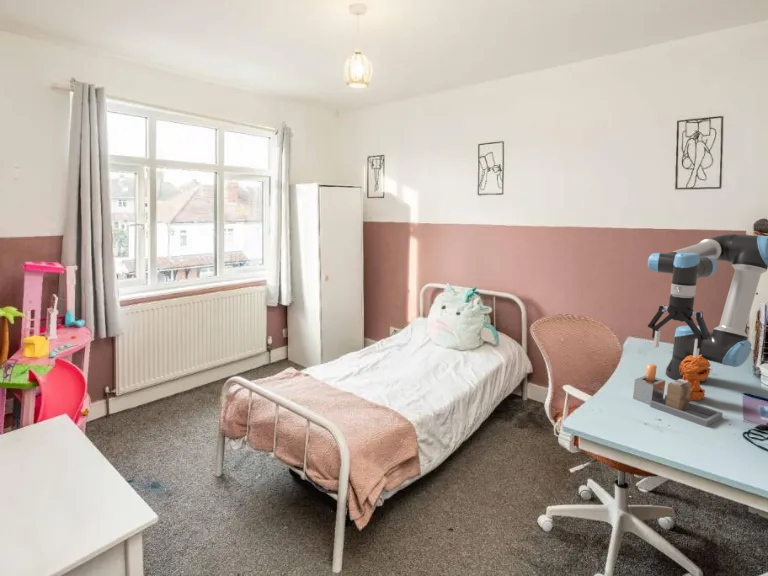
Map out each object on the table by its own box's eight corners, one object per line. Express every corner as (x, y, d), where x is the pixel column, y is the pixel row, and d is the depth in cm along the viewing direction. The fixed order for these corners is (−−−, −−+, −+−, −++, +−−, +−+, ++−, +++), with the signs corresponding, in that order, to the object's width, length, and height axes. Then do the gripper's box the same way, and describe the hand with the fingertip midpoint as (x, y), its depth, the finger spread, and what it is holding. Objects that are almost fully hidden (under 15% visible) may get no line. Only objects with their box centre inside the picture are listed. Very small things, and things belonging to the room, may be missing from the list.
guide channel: (666, 399, 182) (667, 394, 182) (721, 417, 167) (722, 412, 166) (650, 406, 176) (650, 401, 175) (706, 426, 160) (706, 421, 160)
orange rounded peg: (648, 378, 183) (649, 363, 182) (656, 380, 180) (658, 365, 179) (643, 379, 181) (645, 365, 180) (652, 382, 179) (654, 367, 178)
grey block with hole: (645, 393, 188) (647, 374, 186) (663, 399, 182) (665, 380, 180) (632, 398, 183) (635, 379, 181) (651, 405, 177) (653, 385, 176)
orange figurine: (713, 404, 178) (719, 360, 174) (681, 402, 180) (687, 357, 176) (699, 393, 188) (705, 350, 185) (670, 391, 190) (675, 348, 187)
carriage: (675, 403, 178) (678, 377, 176) (688, 408, 174) (691, 381, 172) (664, 408, 173) (668, 382, 171) (677, 413, 170) (681, 386, 168)
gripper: (641, 291, 176) (636, 344, 180) (717, 303, 156) (709, 363, 160) (651, 289, 180) (645, 341, 184) (726, 300, 160) (718, 359, 164)
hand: (675, 351), depth 172 cm, fingers open, 13 cm apart
